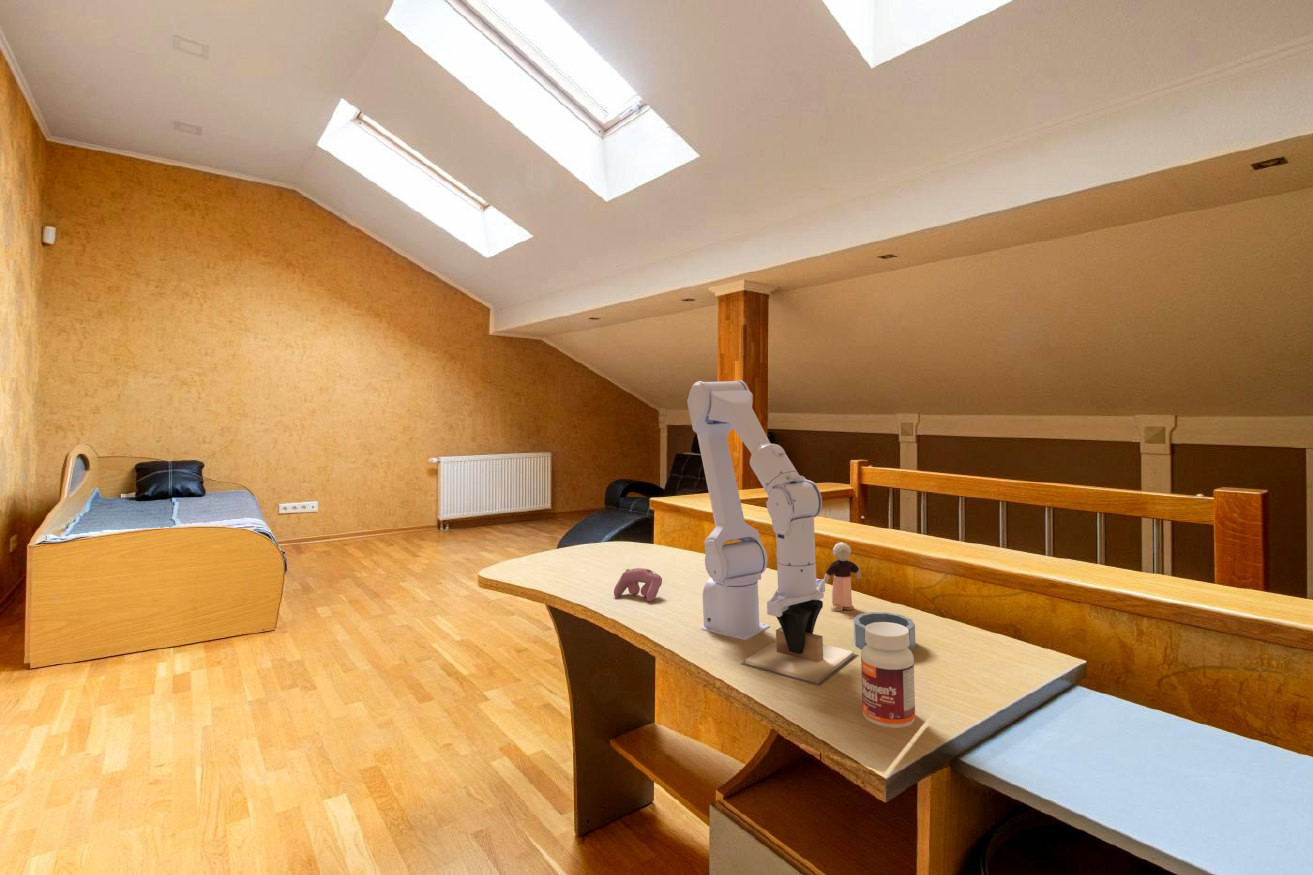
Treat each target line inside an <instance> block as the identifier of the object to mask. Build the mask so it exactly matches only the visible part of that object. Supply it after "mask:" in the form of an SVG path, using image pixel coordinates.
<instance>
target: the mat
mask: <svg viewBox="0 0 1313 875" xmlns="http://www.w3.org/2000/svg"><path fill="white" fill-rule="evenodd" d="M858 656H859V654H855V653H854V656H852V657H851V658H850V659H848V660H847V661H846V662H845V663H843V664H842V665H841V666H840V667H838V668H837V669H836V670H835V671H833V672H832V673H831V674H829V675H828V676H827V677H826V678H824V679H823V680H822V681H821V682H819V683H814V682H810V681H807V680H803V679H800V678H796V677H792V676H789V675H785V674H781V673H778V672H774V671H770V670H767V669H763V668H760V667H756V666H752V665H749V664H745V660H744V661H743V662H741V663H740V665H742V666H746V667H750V668H752V669H757V670H760V671H763V672H768V673H771V674H775V675H778V676H783V677H786V678H789V679H793V680H795V681H800V682H803V683H807V684H810V685H814V686H817V687H820V686H822V685H823V684H824V683H826V682H827V681H828V680H829V679H830V678H832V677H833V676H834V675H836V674H838V672H839V671H840V670H842V669H843V668H844V667H845V666H847V665H848V664H850V663H851V662H852V661H853V660H854V659H855V658H857V657H858Z"/></svg>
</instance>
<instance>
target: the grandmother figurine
mask: <svg viewBox="0 0 1313 875" xmlns="http://www.w3.org/2000/svg"><path fill="white" fill-rule="evenodd" d="M832 551H833V553H832V554H833V555H835V558H836V560H834V561H832V563H831V564H830V565H829V567H828V568H827V570H826V571H825V573H824V576H823V577H824V578H823V579H822V580H825V584H828V583H829V581H830V578H831V577H832V576H833V581H832V589H831V590H832V591H831V604H832V605H831V606H830V610H831V611H833V612H841V611H843V609H844V610H848V611H851V610H854V609H855V607H854V605H853V599H852V576H851V573H853V574H854V575H855V577H856V579H862V574H861V572H860V568H859V567H858V565H857V564H856V563H855V562H853V561H850V560H849V558H850V555H851V552H852V548H851V547H850V545H849V544H847V543H846V542H845V543H844V542H843V541H842V542H837V543H836V544H835V545H834V547H833V548H832Z"/></svg>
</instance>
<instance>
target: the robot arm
mask: <svg viewBox="0 0 1313 875" xmlns="http://www.w3.org/2000/svg"><path fill="white" fill-rule="evenodd" d="M753 399H754V397H753V393H752V392H751V390H750V387H749V386H748V384H747V383H746V382H745V381H743V380H741V379H739V380H733V381H732V380H730V381H701V380H699V381H696V382H694V383H693V384H692V386H691V388H690V391H689V394H688V398H687V400H686V402H687V407H688V413H689V418H690V423H691V426H692V427H691V428H692V431H693V432H694V433H696V435H697V436H696V437H697V440H698V446H699V452H700V457H701V460H702V465H703V471H704V476H705V480H706V486H707V490H708V495H709V500H710V505H711V509H712V510H711V511H712V516H713V521H714V526H715V527H714V528H713V530H712V531H711V532H710V533H709V535H708V536H707V537H706V538H705V540H704V542H703V543H704V549H705V550H704V554H705V556H704V566H705V569H706V572H707V574H708V576H709V578H708V579H707V581H706V582H705V584H704V585H703V586H704V587H703V590H702V608H703V609H702V611H703V613H702V614H703V626H701V627H700V629H701V630H702V631H707V632H709V633H714V634H718V635H722V636H726V637H730V638H734V639H739V640H741V641H742V640H743V641H748V640H750V639H751V638H753V637H754V636H756V635H758V634H760V633H762V632H763V631H765V630H767V629H769V628H770V624H767V623H763V622H760V606H759V604H760V601H759V599H760V598H759V581H760V580H762V574H764V573H765V571H766V569H767V567H768V553H767V550H766V548H765V547H764V545H763V542H762V540H761V538H760V532H759V531H758V530H757V529H756V528H754V527H753V526H751V525H749V524H748V523H746V522H745V516H744V513H743V507H742V503H741V502H742V501H741V498H740V491H739V489H738V487H739V486H738V483H737V478H736V475H735V474H736V472H735V469H734V465H733V464H734V463H733V460H732V454H731V451H730V449H731V448H730V445H729V440H728V435H729V434H730V432H732V431H733V430H734V432H735V433H736V435H737V436H738V437H739V439H740V440H741V441H742V442H743V444H744V446H745V447H746V448H747V449H748V451H749V452H750V453H751V456H750V459H749V465H750V467H751V469H752V471H753V472H754V474H755V476H756V478H757V479H758V481H759V482H760V484H761V486H762V488H763V489H764V491H765V493H766V494H767V500H766V501H765V504H766V509H767V512H768V515H769V517H770V520H771V528H772V529H773V532H774V533H775V540H776V544H775V545H776V566H777V567H776V569H777V572H776V573H777V589H776V591H775V592H774V594H773V595H772V597H771V598H770V599H769V600H767V601H766V611H767V612H766V614H767V615H768V616H773V617H775V618H776V619H777V621H778V622H779V624H780V627H782V630H783V632H784V635H785V639H786V642H787V646H788V649H789V651H790V652H794V653H798V654H802V653H803V650H804V645H805V632H806V633H811V634H814V630H815V625H816V622H817V619H818V617H819V614H820V612H821V611H822V609H823V607H824V602H823V600H822V599H823V598H825V594H824V593H825V592H826V583H825V580H823V579H820V578H817V566H816V537H815V536H816V535H815V518H817V517H818V516H819V515H820V513H821V511H822V508H823V498H822V494H821V492H820V490H819V486H818V484H817V483H815V482H814V481H812V480H809V479H806V477H805V476H803V475H800V474H799V472H798V471H797V469H796V468H795V466H794V464H793V462H792V461H791V460H790V458H789V457H788V455H787V453H786V451H785V449H784V448H783V447H782V446H781V445H780V444H776V443H771V442H770V440H769V438H768V436H767V434H766V433H765V430H764V428H763V426H762V424H761V422H760V421H759V418H758V417H757V414H756V413H755V411H754V409H753V401H754V400H753ZM733 541H738V542H733ZM727 542H732V543H727ZM724 543H727V544H724Z"/></svg>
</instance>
